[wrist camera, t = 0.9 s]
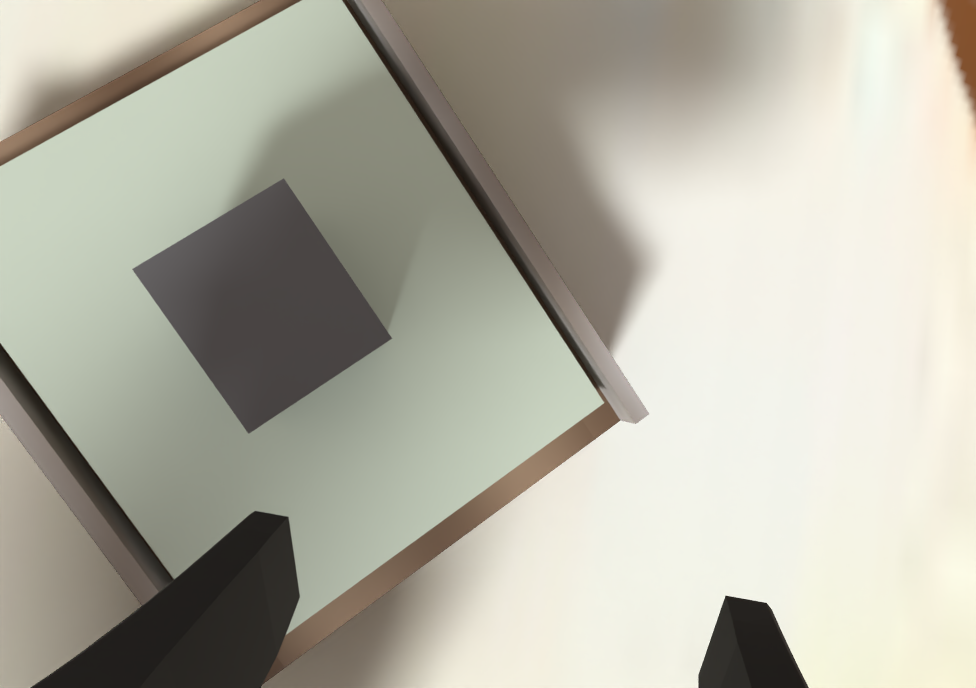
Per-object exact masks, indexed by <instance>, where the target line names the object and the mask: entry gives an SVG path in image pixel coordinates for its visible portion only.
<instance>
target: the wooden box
mask: <svg viewBox="0 0 976 688" xmlns="http://www.w3.org/2000/svg"><path fill="white" fill-rule="evenodd" d="M300 1H302V0H260V1H259V2H257V3H255V4H253V5H251V6H249V7H248V8H246V9H244V10H242V11H240V12H238V13H236V14H235V15H233V16H231V17H229V18H227V19H225V20H224V21H222V22H220V23H218V24H216V25H214V26H213V27H211V28H209V29H207V30H205V31H203V32H202V33H200V34H198V35H196V36H194V37H192V38H191V39H189V40H187V41H185V42H183V43H181V44H179V45H178V46H176V47H174V48H172V49H170V50H168V51H167V52H165V53H163V54H161V55H159V56H157V57H156V58H154V59H152V60H150V61H148V62H146V63H145V64H143V65H141V66H139V67H137V68H135V69H134V70H132V71H130V72H128V73H126V74H124V75H123V76H121V77H119V78H117V79H115V80H113V81H111V82H110V83H108V84H106V85H104V86H102V87H100V88H99V89H97V90H95V91H93V92H91V93H89V94H88V95H86V96H84V97H82V98H80V99H78V100H77V101H75V102H73V103H71V104H69V105H67V106H66V107H64V108H62V109H60V110H58V111H56V112H54V113H53V114H51V115H49V116H47V117H45V118H43V119H42V120H40V121H38V122H36V123H34V124H32V125H31V126H29V127H27V128H25V129H23V130H21V131H20V132H18V133H16V134H14V135H12V136H10V137H9V138H7V139H5V140H3V141H1V142H0V166H2V165H4V164H5V163H7V162H9V161H11V160H13V159H14V158H16V157H18V156H20V155H22V154H24V153H25V152H27V151H29V150H31V149H33V148H34V147H36V146H38V145H40V144H42V143H44V142H45V141H47V140H49V139H51V138H53V137H54V136H56V135H58V134H60V133H62V132H64V131H65V130H67V129H69V128H71V127H73V126H74V125H76V124H78V123H80V122H82V121H84V120H85V119H87V118H89V117H91V116H93V115H94V114H96V113H98V112H100V111H102V110H103V109H105V108H107V107H109V106H111V105H113V104H114V103H116V102H118V101H120V100H122V99H123V98H125V97H127V96H129V95H131V94H133V93H134V92H136V91H138V90H140V89H142V88H143V87H145V86H147V85H149V84H151V83H153V82H154V81H156V80H158V79H160V78H162V77H163V76H165V75H167V74H169V73H171V72H173V71H174V70H176V69H178V68H180V67H182V66H183V65H185V64H187V63H189V62H191V61H193V60H194V59H196V58H198V57H200V56H202V55H203V54H205V53H207V52H209V51H211V50H213V49H214V48H216V47H218V46H220V45H222V44H223V43H225V42H227V41H229V40H231V39H232V38H234V37H236V36H238V35H240V34H242V33H243V32H245V31H247V30H249V29H251V28H252V27H254V26H256V25H258V24H260V23H262V22H263V21H265V20H267V19H269V18H271V17H272V16H274V15H276V14H278V13H280V12H282V11H283V10H285V9H287V8H289V7H291V6H292V5H294V4H296V3H298V2H300ZM342 1H343V3H344V4H345V6H346V7H347V9H348V10H349V12H350V13H351V15H352V16H353V18H354V19H355V21H356V22H357V24H358V26H359V27H360V29H361V30H362V32H363V33H364V35H365V36H366V38H367V39H368V41H369V42H370V44H371V45H372V47H373V49H374V50H375V52H376V53H377V55H378V56H379V58H380V59H381V61H382V62H383V64H384V65H385V67H386V69H387V70H388V72H389V73H390V75H391V76H392V78H393V79H394V81H395V82H396V84H397V85H398V87H399V88H400V90H401V92H402V93H403V95H404V96H405V98H406V99H407V101H408V102H409V104H410V105H411V107H412V108H413V110H414V112H415V113H416V115H417V116H418V118H419V119H420V121H421V122H422V124H423V125H424V127H425V128H426V130H427V131H428V133H429V135H430V136H431V138H432V139H433V141H434V142H435V144H436V145H437V147H438V148H439V150H440V151H441V153H442V154H443V156H444V158H445V159H446V161H447V162H448V164H449V165H450V167H451V168H452V170H453V171H454V173H455V174H456V176H457V178H458V179H459V181H460V182H461V184H462V185H463V187H464V188H465V190H466V191H467V193H468V194H469V196H470V197H471V199H472V201H473V202H474V204H475V205H476V207H477V208H478V210H479V211H480V213H481V214H482V216H483V217H484V219H485V221H486V222H487V224H488V225H489V227H490V228H491V230H492V231H493V233H494V234H495V236H496V237H497V239H498V240H499V242H500V244H501V245H502V247H503V248H504V250H505V251H506V253H507V254H508V256H509V257H510V259H511V260H512V262H513V263H514V265H515V267H516V268H517V270H518V271H519V273H520V274H521V276H522V277H523V279H524V280H525V282H526V283H527V285H528V287H529V288H530V290H531V291H532V293H533V294H534V296H535V297H536V299H537V300H538V302H539V303H540V305H541V306H542V308H543V310H544V311H545V313H546V314H547V316H548V317H549V319H550V320H551V322H552V323H553V325H554V326H555V328H556V330H557V331H558V333H559V334H560V336H561V337H562V339H563V340H564V342H565V343H566V345H567V346H568V348H569V349H570V351H571V353H572V354H573V356H574V357H575V359H576V360H577V362H578V363H579V365H580V366H581V368H582V369H583V371H584V372H585V374H586V376H587V377H588V379H589V380H590V382H591V383H592V385H593V386H594V388H595V389H596V391H597V392H598V394H599V396H600V397H601V399H602V400H603V402H604V404H602V405H601V406H600V407H598V408H597V409H595V410H594V411H593V412H591V413H590V414H589V415H587V416H586V417H584V418H583V419H582V420H580V421H579V422H578V423H576V424H575V425H573V426H572V427H571V428H569V429H568V430H567V431H565V432H564V433H562V434H561V435H560V436H558V437H557V438H556V439H554V440H553V441H551V442H550V443H549V444H547V445H546V446H545V447H543V448H542V449H541V450H539V451H538V452H536V453H535V454H534V455H532V456H531V457H530V458H528V459H527V460H525V461H524V462H523V463H521V464H520V465H519V466H517V467H516V468H514V469H513V470H512V471H510V472H509V473H508V474H506V475H505V476H503V477H502V478H501V479H499V480H498V481H497V482H495V483H494V484H492V485H491V486H490V487H488V488H487V489H486V490H484V491H483V492H481V493H480V494H479V495H477V496H476V497H475V498H473V499H472V500H470V501H469V502H468V503H466V504H465V505H464V506H462V507H461V508H459V509H458V510H457V511H455V512H454V513H453V514H451V515H450V516H448V517H447V518H446V519H444V520H443V521H442V522H440V523H439V524H437V525H436V526H435V527H433V528H432V529H431V530H429V531H428V532H426V533H425V534H424V535H422V536H421V537H420V538H418V539H417V540H416V541H414V542H413V543H411V544H410V545H409V546H407V547H406V548H405V549H403V550H402V551H400V552H399V553H398V554H396V555H395V556H394V557H392V558H391V559H389V560H388V561H387V562H385V563H384V564H383V565H381V566H380V567H378V568H377V569H376V570H374V571H373V572H372V573H370V574H369V575H367V576H366V577H365V578H363V579H362V580H361V581H359V582H358V583H356V584H355V585H354V586H352V587H351V588H350V589H348V590H347V591H345V592H344V593H343V594H341V595H340V596H339V597H337V598H336V599H334V600H333V601H332V602H330V603H329V604H328V605H326V606H325V607H323V608H322V609H321V610H319V611H318V612H317V613H315V614H314V615H312V616H311V617H310V618H308V619H307V620H306V621H304V622H303V623H302V624H300V625H299V626H297V627H296V628H295V629H293V630H292V631H291V632H289V633H288V634H286V635H285V638H284V640H283V642H282V645H281V647H280V650H279V652H278V655H277V657H276V659H275V661H274V663H273V665H272V667H271V669H270V671H269V673H268V675H267V676H266V678H265V680H264V682H263V684H264V683H265V682H266V681H268V680H269V679H270V678H272V677H273V676H274V675H276V674H277V673H278V672H280V671H281V670H283V669H284V668H285V667H287V666H288V665H289V664H291V663H292V662H293V661H295V660H296V659H297V658H299V657H300V656H302V655H303V654H304V653H306V652H307V651H308V650H310V649H311V648H312V647H314V646H315V645H316V644H318V643H319V642H321V641H322V640H323V639H325V638H326V637H327V636H329V635H330V634H331V633H333V632H334V631H335V630H337V629H338V628H339V627H341V626H342V625H344V624H345V623H346V622H348V621H349V620H350V619H352V618H353V617H354V616H356V615H357V614H358V613H360V612H361V611H363V610H364V609H365V608H367V607H368V606H369V605H371V604H372V603H373V602H375V601H376V600H377V599H379V598H380V597H382V596H383V595H384V594H386V593H387V592H388V591H390V590H391V589H392V588H394V587H395V586H396V585H398V584H399V583H401V582H402V581H403V580H405V579H406V578H407V577H409V576H410V575H411V574H413V573H414V572H415V571H417V570H418V569H420V568H421V567H422V566H424V565H425V564H426V563H428V562H429V561H430V560H432V559H433V558H434V557H436V556H437V555H439V554H440V553H441V552H443V551H444V550H445V549H447V548H448V547H449V546H451V545H452V544H453V543H455V542H456V541H458V540H459V539H460V538H462V537H463V536H464V535H466V534H467V533H468V532H470V531H471V530H472V529H474V528H475V527H477V526H478V525H479V524H481V523H482V522H483V521H485V520H486V519H487V518H489V517H490V516H491V515H493V514H494V513H496V512H497V511H498V510H500V509H501V508H502V507H504V506H505V505H506V504H508V503H509V502H510V501H512V500H513V499H515V498H516V497H517V496H519V495H520V494H521V493H523V492H524V491H525V490H527V489H528V488H529V487H531V486H532V485H533V484H535V483H536V482H538V481H539V480H540V479H542V478H543V477H544V476H546V475H547V474H548V473H550V472H551V471H552V470H554V469H555V468H557V467H558V466H559V465H561V464H562V463H563V462H565V461H566V460H567V459H569V458H570V457H571V456H573V455H574V454H576V453H577V452H578V451H580V450H581V449H582V448H584V447H585V446H586V445H588V444H589V443H590V442H592V441H593V440H595V439H596V438H597V437H599V436H600V435H601V434H603V433H604V432H605V431H607V430H608V429H609V428H611V427H612V426H614V425H615V424H616V423H618V422H619V421H620V420H621V421H626V422H630V423H635V424H636V423H638V422H639V421H640V420H642V419H643V418H644V417H646V416H647V415H648V414H649V413H648V411H647V410H646V408H645V407H644V405H643V404H642V402H641V400H640V399H639V397H638V396H637V394H636V393H635V391H634V390H633V388H632V387H631V385H630V383H629V382H628V380H627V379H626V377H625V376H624V374H623V373H622V371H621V370H620V368H619V366H618V365H617V363H616V362H615V360H614V359H613V357H612V356H611V354H610V352H609V351H608V349H607V348H606V346H605V345H604V343H603V342H602V340H601V339H600V337H599V335H598V334H597V332H596V331H595V329H594V328H593V326H592V325H591V323H590V322H589V320H588V318H587V317H586V315H585V314H584V312H583V311H582V309H581V308H580V306H579V304H578V303H577V301H576V300H575V298H574V297H573V295H572V294H571V292H570V291H569V289H568V287H567V286H566V284H565V283H564V281H563V280H562V278H561V277H560V275H559V274H558V272H557V270H556V269H555V267H554V266H553V264H552V263H551V261H550V260H549V258H548V256H547V255H546V253H545V252H544V250H543V249H542V247H541V246H540V244H539V243H538V241H537V239H536V238H535V236H534V235H533V233H532V232H531V230H530V229H529V227H528V225H527V224H526V222H525V221H524V219H523V218H522V216H521V215H520V213H519V212H518V210H517V208H516V207H515V205H514V204H513V202H512V201H511V199H510V198H509V196H508V195H507V193H506V191H505V190H504V188H503V187H502V185H501V184H500V182H499V181H498V179H497V177H496V176H495V174H494V173H493V171H492V170H491V168H490V167H489V165H488V164H487V162H486V160H485V159H484V157H483V156H482V154H481V153H480V151H479V150H478V148H477V147H476V145H475V143H474V142H473V140H472V139H471V137H470V136H469V134H468V133H467V131H466V129H465V128H464V126H463V125H462V123H461V122H460V120H459V119H458V117H457V116H456V114H455V112H454V111H453V109H452V108H451V106H450V105H449V103H448V102H447V100H446V99H445V97H444V95H443V94H442V92H441V91H440V89H439V88H438V86H437V85H436V83H435V81H434V80H433V78H432V77H431V75H430V74H429V72H428V71H427V69H426V68H425V66H424V64H423V63H422V61H421V60H420V58H419V57H418V55H417V54H416V52H415V50H414V49H413V47H412V46H411V44H410V43H409V41H408V40H407V38H406V37H405V35H404V33H403V32H402V30H401V29H400V27H399V26H398V24H397V23H396V21H395V20H394V18H393V16H392V15H391V13H390V12H389V10H388V9H387V7H386V6H385V4H384V2H383V1H382V0H342ZM0 415H1V416H2V418H3V419H4V420H5V422H6V423H7V424H8V426H9V427H10V428H11V430H12V431H13V432H14V434H15V435H16V436H17V438H18V439H19V441H20V442H21V443H22V445H23V446H24V447H25V449H26V450H27V451H28V453H29V454H30V455H31V457H32V458H33V459H34V461H35V462H36V463H37V465H38V466H39V467H40V469H41V470H42V471H43V473H44V474H45V476H46V477H47V478H48V480H49V481H50V482H51V484H52V485H53V486H54V488H55V489H56V490H57V492H58V493H59V494H60V496H61V497H62V498H63V500H64V501H65V502H66V504H67V505H68V506H69V508H70V509H71V511H72V512H73V513H74V515H75V516H76V517H77V519H78V520H79V521H80V523H81V524H82V525H83V527H84V528H85V529H86V531H87V532H88V533H89V535H90V536H91V537H92V539H93V540H94V541H95V543H96V544H97V546H98V547H99V548H100V550H101V551H102V552H103V554H104V555H105V556H106V558H107V559H108V560H109V562H110V563H111V564H112V566H113V567H114V568H115V570H116V571H117V572H118V574H119V575H120V576H121V578H122V579H123V581H124V582H125V583H126V585H127V586H128V587H129V589H130V590H131V591H132V593H133V594H134V595H135V597H136V598H137V599H138V601H139V602H140V603H141V605H144V604H145V603H146V602H147V601H149V600H150V599H151V598H152V597H153V596H155V595H156V594H157V593H158V592H159V591H161V590H162V589H163V588H164V587H166V586H167V585H168V584H169V583H170V582H172V581H173V580H174V578H173V577H172V576H171V574H170V573H169V572H168V570H167V569H166V568H165V566H164V565H163V564H162V562H161V561H160V559H159V558H158V557H157V555H156V554H155V553H154V551H153V550H152V549H151V547H150V546H149V544H148V543H147V542H146V540H145V539H144V538H143V536H142V535H141V534H140V532H139V531H138V530H137V528H136V527H135V525H134V524H133V523H132V521H131V520H130V519H129V517H128V516H127V515H126V513H125V512H124V510H123V509H122V508H121V506H120V505H119V504H118V502H117V501H116V500H115V498H114V497H113V496H112V494H111V493H110V491H109V490H108V489H107V487H106V486H105V485H104V483H103V482H102V481H101V479H100V478H99V476H98V475H97V474H96V472H95V471H94V470H93V468H92V467H91V466H90V464H89V463H88V461H87V460H86V459H85V457H84V456H83V455H82V453H81V452H80V451H79V449H78V448H77V447H76V445H75V444H74V442H73V441H72V440H71V438H70V437H69V436H68V434H67V433H66V432H65V430H64V429H63V427H62V426H61V425H60V423H59V422H58V421H57V419H56V418H55V417H54V415H53V414H52V413H51V411H50V410H49V408H48V407H47V406H46V404H45V403H44V402H43V400H42V399H41V398H40V396H39V395H38V393H37V392H36V391H35V389H34V388H33V387H32V385H31V384H30V383H29V381H28V380H27V379H26V377H25V376H24V374H23V373H22V372H21V370H20V369H19V368H18V366H17V365H16V364H15V362H14V361H13V359H12V358H11V357H10V355H9V354H8V353H7V351H6V350H5V349H4V347H3V346H2V344H1V343H0Z"/></svg>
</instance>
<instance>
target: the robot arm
mask: <svg viewBox="0 0 976 688" xmlns="http://www.w3.org/2000/svg"><path fill="white" fill-rule="evenodd" d="M299 598H300V593H299V586H298V579H297V572H296V565H295V558H294V551H293V544H292V537H291V530H290V523H289V517H287V516H282V515H276V514H271V513H265V512H260V511H254V512H252V513H251V514H250V515H248V516H247V517H246V518H245V519H244V520H243V521H241V522H240V523H239V524H238V525H237V526H236V527H235V528H233V529H232V530H231V531H230V532H229V533H228V534H226V535H225V536H224V537H223V538H222V539H221V540H220V541H218V542H217V543H216V544H215V545H214V546H213V547H212V548H210V549H209V550H208V551H207V552H206V553H205V554H203V555H202V556H201V557H200V558H199V559H198V560H196V561H195V562H194V563H193V564H192V565H191V566H189V567H188V568H187V569H186V570H185V571H184V572H182V573H181V574H180V575H179V576H178V577H176V578H175V579H174V580H173V581H172V582H170V583H169V584H168V585H167V586H166V587H164V588H163V589H162V590H161V591H159V592H158V593H157V594H156V595H155V596H153V597H152V598H151V599H150V600H149V601H147V602H146V603H145V604H144V605H142V606H141V607H140V608H139V609H137V610H136V611H135V612H134V613H132V614H131V615H130V616H129V617H127V618H126V619H125V620H123V621H122V622H121V623H119V624H118V625H117V626H115V627H114V628H113V629H111V630H110V631H109V632H108V633H106V634H105V635H104V636H102V637H101V638H100V639H98V640H97V641H96V642H94V643H93V644H92V645H90V646H89V647H88V648H87V649H85V650H84V651H82V652H81V653H80V654H78V655H77V656H76V657H74V658H73V659H71V660H70V661H69V662H67V663H66V664H64V665H63V666H62V667H60V668H59V669H57V670H56V671H54V672H53V673H52V674H50V675H49V676H47V677H46V678H44V679H43V680H41V681H40V682H38V683H37V684H35V685H34V686H32V687H31V688H261V686H262V684H263V682H264V680H265V678H266V676H267V675H268V673H269V671H270V669H271V667H272V665H273V663H274V661H275V659H276V657H277V655H278V652H279V650H280V647H281V645H282V642H283V640H284V638H285V635H286V633H287V630H288V628H289V625H290V622H291V620H292V617H293V614H294V612H295V609H296V606H297V604H298V601H299ZM699 688H808V686H807V684H806V682H805V680H804V678H803V676H802V674H801V672H800V670H799V668H798V665H797V663H796V661H795V659H794V657H793V655H792V653H791V651H790V649H789V647H788V645H787V642H786V640H785V638H784V636H783V634H782V632H781V629H780V627H779V625H778V623H777V621H776V618H775V616H774V614H773V611H772V609H771V608H770V607H769V606H768V604H767V603H763V602H758V601H752V600H747V599H741V598H736V597H730V596H725V599H724V602H723V605H722V608H721V611H720V614H719V617H718V620H717V623H716V626H715V628H714V631H713V634H712V637H711V640H710V643H709V646H708V649H707V652H706V655H705V658H704V661H703V664H702V666H701V669H700V672H699Z"/></svg>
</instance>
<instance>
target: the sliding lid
mask: <svg viewBox="0 0 976 688" xmlns="http://www.w3.org/2000/svg"><path fill="white" fill-rule="evenodd" d="M0 343H1V344H2V346H3V347H4V349H5V350H6V351H7V353H8V354H9V355H10V357H11V358H12V359H13V361H14V362H15V364H16V365H17V366H18V368H19V369H20V370H21V372H22V373H23V374H24V376H25V377H26V379H27V380H28V381H29V383H30V384H31V385H32V387H33V388H34V389H35V391H36V392H37V393H38V395H39V396H40V398H41V399H42V400H43V402H44V403H45V404H46V406H47V407H48V408H49V410H50V411H51V413H52V414H53V415H54V417H55V418H56V419H57V421H58V422H59V423H60V425H61V426H62V427H63V429H64V430H65V432H66V433H67V434H68V436H69V437H70V438H71V440H72V441H73V442H74V444H75V445H76V447H77V448H78V449H79V451H80V452H81V453H82V455H83V456H84V457H85V459H86V460H87V461H88V463H89V464H90V466H91V467H92V468H93V470H94V471H95V472H96V474H97V475H98V476H99V478H100V479H101V481H102V482H103V483H104V485H105V486H106V487H107V489H108V490H109V491H110V493H111V494H112V496H113V497H114V498H115V500H116V501H117V502H118V504H119V505H120V506H121V508H122V509H123V510H124V512H125V513H126V515H127V516H128V517H129V519H130V520H131V521H132V523H133V524H134V525H135V527H136V528H137V530H138V531H139V532H140V534H141V535H142V536H143V538H144V539H145V540H146V542H147V543H148V544H149V546H150V547H151V549H152V550H153V551H154V553H155V554H156V555H157V557H158V558H159V559H160V561H161V562H162V564H163V565H164V566H165V568H166V569H167V570H168V572H169V573H170V574H171V576H172V577H173V578H174V579H175V578H176V577H178V576H179V575H180V574H181V573H182V572H184V571H185V570H186V569H187V568H188V567H189V566H191V565H192V564H193V563H194V562H195V561H196V560H198V559H199V558H200V557H201V556H202V555H203V554H205V553H206V552H207V551H208V550H209V549H210V548H212V547H213V546H214V545H215V544H216V543H217V542H218V541H220V540H221V539H222V538H223V537H224V536H225V535H226V534H228V533H229V532H230V531H231V530H232V529H233V528H235V527H236V526H237V525H238V524H239V523H240V522H241V521H243V520H244V519H245V518H246V517H247V516H248V515H250V514H251V513H252V512H254V511H260V512H265V513H271V514H276V515H282V516H287V517H289V523H290V530H291V537H292V544H293V551H294V558H295V565H296V572H297V579H298V586H299V593H300V598H299V601H298V604H297V606H296V609H295V612H294V614H293V617H292V620H291V622H290V625H289V628H288V630H287V633H286V634H288V633H289V632H291V631H292V630H293V629H295V628H296V627H297V626H299V625H300V624H302V623H303V622H304V621H306V620H307V619H308V618H310V617H311V616H312V615H314V614H315V613H317V612H318V611H319V610H321V609H322V608H323V607H325V606H326V605H328V604H329V603H330V602H332V601H333V600H334V599H336V598H337V597H339V596H340V595H341V594H343V593H344V592H345V591H347V590H348V589H350V588H351V587H352V586H354V585H355V584H356V583H358V582H359V581H361V580H362V579H363V578H365V577H366V576H367V575H369V574H370V573H372V572H373V571H374V570H376V569H377V568H378V567H380V566H381V565H383V564H384V563H385V562H387V561H388V560H389V559H391V558H392V557H394V556H395V555H396V554H398V553H399V552H400V551H402V550H403V549H405V548H406V547H407V546H409V545H410V544H411V543H413V542H414V541H416V540H417V539H418V538H420V537H421V536H422V535H424V534H425V533H426V532H428V531H429V530H431V529H432V528H433V527H435V526H436V525H437V524H439V523H440V522H442V521H443V520H444V519H446V518H447V517H448V516H450V515H451V514H453V513H454V512H455V511H457V510H458V509H459V508H461V507H462V506H464V505H465V504H466V503H468V502H469V501H470V500H472V499H473V498H475V497H476V496H477V495H479V494H480V493H481V492H483V491H484V490H486V489H487V488H488V487H490V486H491V485H492V484H494V483H495V482H497V481H498V480H499V479H501V478H502V477H503V476H505V475H506V474H508V473H509V472H510V471H512V470H513V469H514V468H516V467H517V466H519V465H520V464H521V463H523V462H524V461H525V460H527V459H528V458H530V457H531V456H532V455H534V454H535V453H536V452H538V451H539V450H541V449H542V448H543V447H545V446H546V445H547V444H549V443H550V442H551V441H553V440H554V439H556V438H557V437H558V436H560V435H561V434H562V433H564V432H565V431H567V430H568V429H569V428H571V427H572V426H573V425H575V424H576V423H578V422H579V421H580V420H582V419H583V418H584V417H586V416H587V415H589V414H590V413H591V412H593V411H594V410H595V409H597V408H598V407H600V406H601V405H602V404H604V402H603V400H602V399H601V397H600V396H599V394H598V392H597V391H596V389H595V388H594V386H593V385H592V383H591V382H590V380H589V379H588V377H587V376H586V374H585V372H584V371H583V369H582V368H581V366H580V365H579V363H578V362H577V360H576V359H575V357H574V356H573V354H572V353H571V351H570V349H569V348H568V346H567V345H566V343H565V342H564V340H563V339H562V337H561V336H560V334H559V333H558V331H557V330H556V328H555V326H554V325H553V323H552V322H551V320H550V319H549V317H548V316H547V314H546V313H545V311H544V310H543V308H542V306H541V305H540V303H539V302H538V300H537V299H536V297H535V296H534V294H533V293H532V291H531V290H530V288H529V287H528V285H527V283H526V282H525V280H524V279H523V277H522V276H521V274H520V273H519V271H518V270H517V268H516V267H515V265H514V263H513V262H512V260H511V259H510V257H509V256H508V254H507V253H506V251H505V250H504V248H503V247H502V245H501V244H500V242H499V240H498V239H497V237H496V236H495V234H494V233H493V231H492V230H491V228H490V227H489V225H488V224H487V222H486V221H485V219H484V217H483V216H482V214H481V213H480V211H479V210H478V208H477V207H476V205H475V204H474V202H473V201H472V199H471V197H470V196H469V194H468V193H467V191H466V190H465V188H464V187H463V185H462V184H461V182H460V181H459V179H458V178H457V176H456V174H455V173H454V171H453V170H452V168H451V167H450V165H449V164H448V162H447V161H446V159H445V158H444V156H443V154H442V153H441V151H440V150H439V148H438V147H437V145H436V144H435V142H434V141H433V139H432V138H431V136H430V135H429V133H428V131H427V130H426V128H425V127H424V125H423V124H422V122H421V121H420V119H419V118H418V116H417V115H416V113H415V112H414V110H413V108H412V107H411V105H410V104H409V102H408V101H407V99H406V98H405V96H404V95H403V93H402V92H401V90H400V88H399V87H398V85H397V84H396V82H395V81H394V79H393V78H392V76H391V75H390V73H389V72H388V70H387V69H386V67H385V65H384V64H383V62H382V61H381V59H380V58H379V56H378V55H377V53H376V52H375V50H374V49H373V47H372V45H371V44H370V42H369V41H368V39H367V38H366V36H365V35H364V33H363V32H362V30H361V29H360V27H359V26H358V24H357V22H356V21H355V19H354V18H353V16H352V15H351V13H350V12H349V10H348V9H347V7H346V6H345V4H344V3H343V1H342V0H302V1H300V2H298V3H296V4H294V5H292V6H291V7H289V8H287V9H285V10H283V11H282V12H280V13H278V14H276V15H274V16H272V17H271V18H269V19H267V20H265V21H263V22H262V23H260V24H258V25H256V26H254V27H252V28H251V29H249V30H247V31H245V32H243V33H242V34H240V35H238V36H236V37H234V38H232V39H231V40H229V41H227V42H225V43H223V44H222V45H220V46H218V47H216V48H214V49H213V50H211V51H209V52H207V53H205V54H203V55H202V56H200V57H198V58H196V59H194V60H193V61H191V62H189V63H187V64H185V65H183V66H182V67H180V68H178V69H176V70H174V71H173V72H171V73H169V74H167V75H165V76H163V77H162V78H160V79H158V80H156V81H154V82H153V83H151V84H149V85H147V86H145V87H143V88H142V89H140V90H138V91H136V92H134V93H133V94H131V95H129V96H127V97H125V98H123V99H122V100H120V101H118V102H116V103H114V104H113V105H111V106H109V107H107V108H105V109H103V110H102V111H100V112H98V113H96V114H94V115H93V116H91V117H89V118H87V119H85V120H84V121H82V122H80V123H78V124H76V125H74V126H73V127H71V128H69V129H67V130H65V131H64V132H62V133H60V134H58V135H56V136H54V137H53V138H51V139H49V140H47V141H45V142H44V143H42V144H40V145H38V146H36V147H34V148H33V149H31V150H29V151H27V152H25V153H24V154H22V155H20V156H18V157H16V158H14V159H13V160H11V161H9V162H7V163H5V164H4V165H2V166H0Z"/></svg>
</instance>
